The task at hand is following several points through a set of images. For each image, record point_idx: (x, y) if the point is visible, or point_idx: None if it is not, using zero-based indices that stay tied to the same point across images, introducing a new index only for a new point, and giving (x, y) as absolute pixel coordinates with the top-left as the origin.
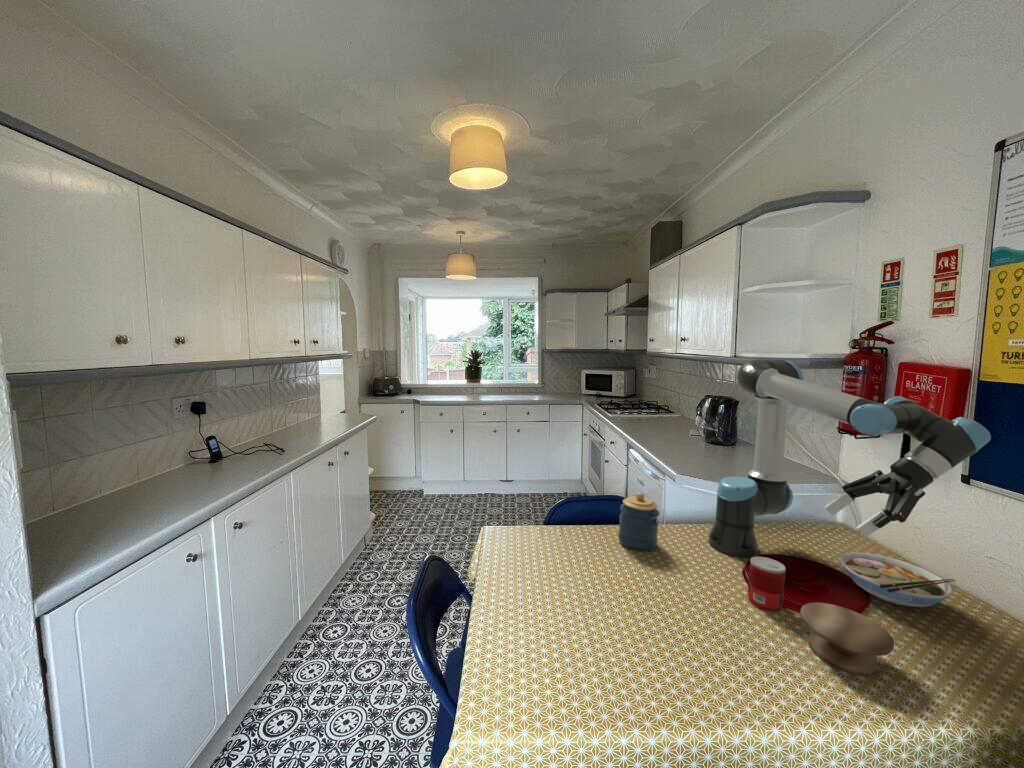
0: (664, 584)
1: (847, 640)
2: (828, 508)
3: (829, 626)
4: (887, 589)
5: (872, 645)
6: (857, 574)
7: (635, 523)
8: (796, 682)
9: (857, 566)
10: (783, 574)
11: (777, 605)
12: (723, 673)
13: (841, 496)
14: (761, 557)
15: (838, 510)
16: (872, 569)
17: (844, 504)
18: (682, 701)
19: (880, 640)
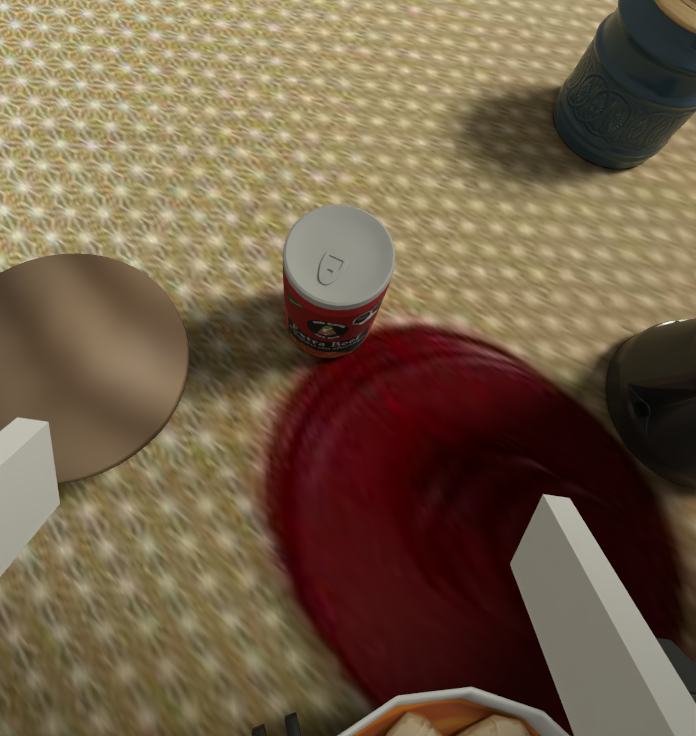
0: (386, 115)
1: None
2: (542, 520)
3: (57, 304)
4: (262, 727)
5: None
6: (410, 694)
7: (607, 22)
8: (24, 219)
9: None
10: (289, 286)
11: (286, 321)
12: (65, 100)
13: (658, 698)
14: (389, 258)
15: (537, 621)
16: None
17: (580, 707)
18: (6, 12)
19: None
